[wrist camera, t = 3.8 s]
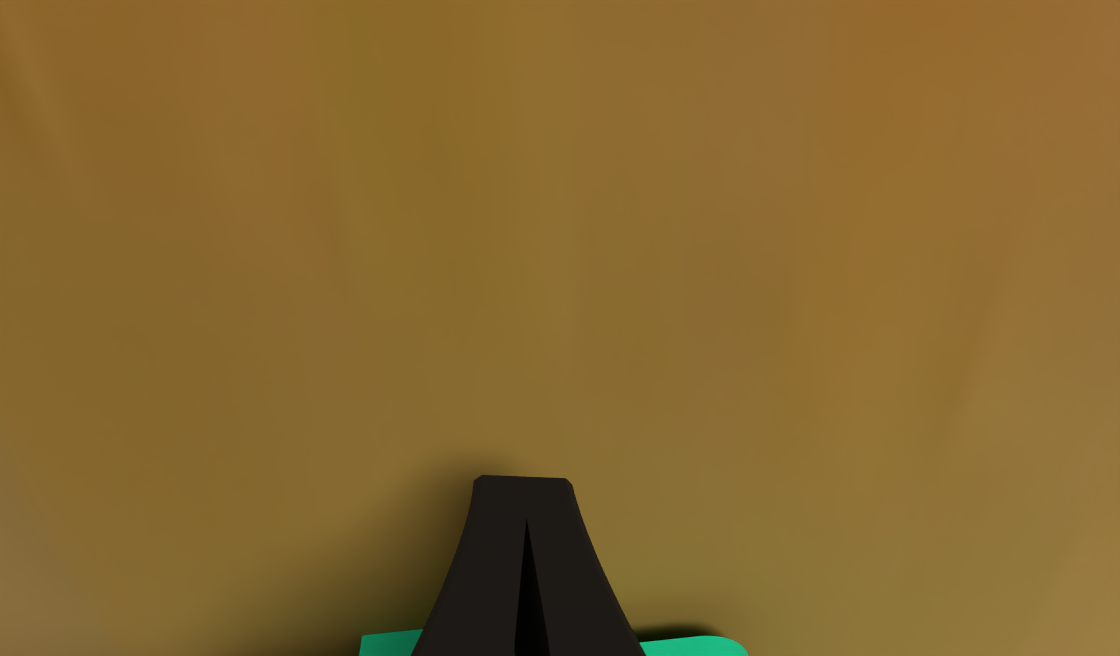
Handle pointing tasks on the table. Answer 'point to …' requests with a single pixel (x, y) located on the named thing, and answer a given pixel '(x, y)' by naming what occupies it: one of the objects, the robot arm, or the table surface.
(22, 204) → the table surface
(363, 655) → the camera mount
